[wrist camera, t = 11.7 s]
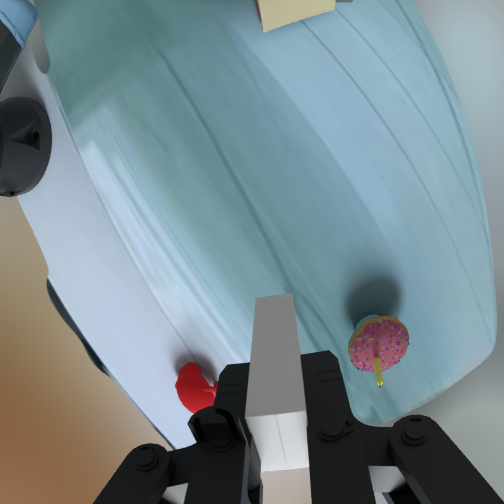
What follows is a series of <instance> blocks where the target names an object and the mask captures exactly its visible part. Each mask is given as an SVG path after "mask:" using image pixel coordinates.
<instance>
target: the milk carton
mask: <svg viewBox="0 0 504 504" xmlns="http://www.w3.org/2000/svg"><path fill="white" fill-rule="evenodd" d="M335 1H336V0H254V3H255V6H256V9H257V12H258V16H259V19H260V22H261V26H262V29H263V33H264V32H267V31H269V30H272V29H275V28H278V27H281V26H284V25H287V24H289V23H293V22H296V21H299V20H302V19H305V18H308V17H311V16H315V15H318V14H321V13H325V12H328V11H332V10H335Z"/></svg>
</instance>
